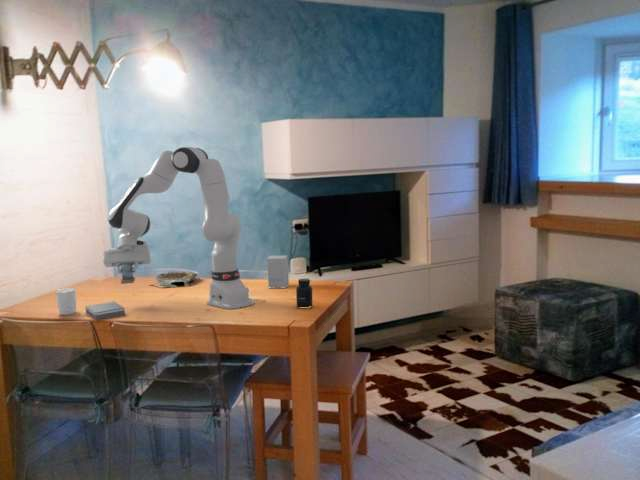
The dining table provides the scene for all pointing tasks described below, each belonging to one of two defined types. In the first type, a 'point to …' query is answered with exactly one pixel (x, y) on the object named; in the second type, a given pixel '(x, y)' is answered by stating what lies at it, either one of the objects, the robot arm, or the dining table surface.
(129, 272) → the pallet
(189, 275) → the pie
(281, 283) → the supplement box
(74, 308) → the white cup
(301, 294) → the supplement bottle
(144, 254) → the robot arm
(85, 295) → the dining table surface
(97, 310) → the dock
